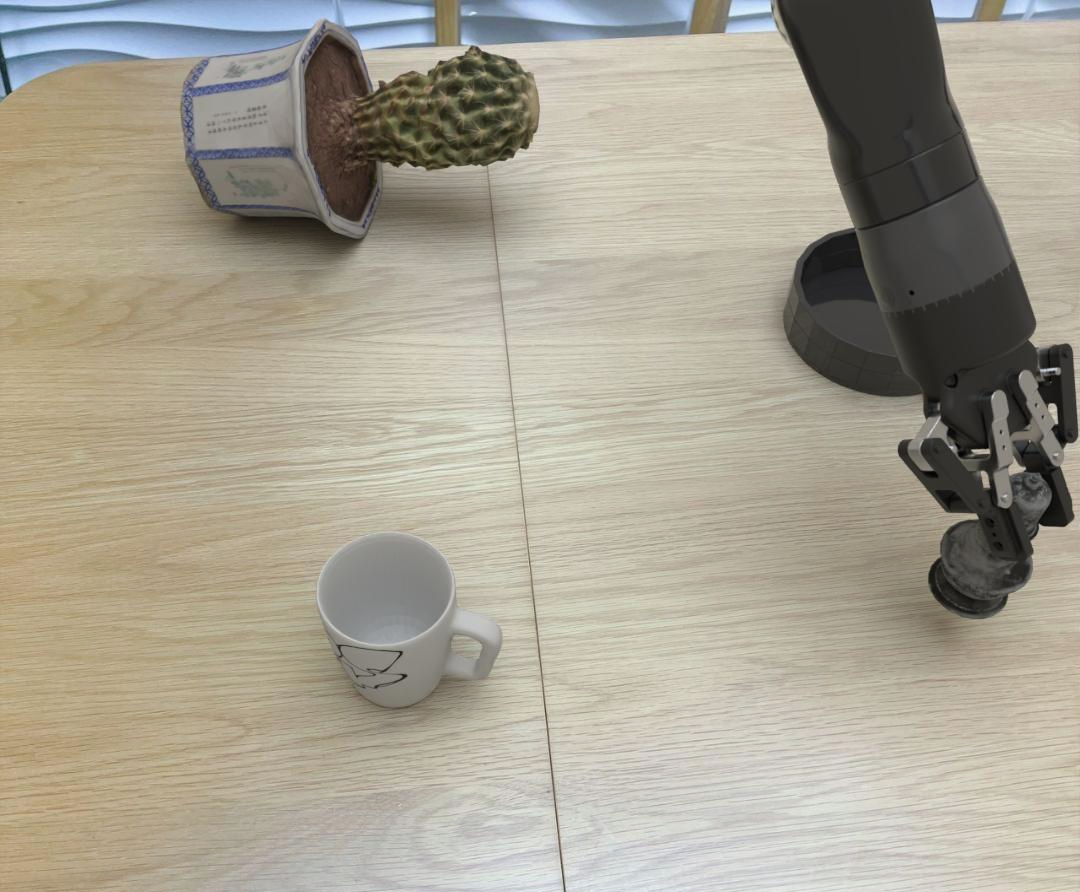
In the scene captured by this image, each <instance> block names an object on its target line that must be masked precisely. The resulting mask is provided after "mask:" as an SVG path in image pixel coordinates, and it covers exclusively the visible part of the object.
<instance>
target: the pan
mask: <svg viewBox="0 0 1080 892" xmlns="http://www.w3.org/2000/svg"><path fill="white" fill-rule="evenodd" d="M855 229H856V228H855V227H854V226H853V227H849V228H846V229H841V230H837V231H833V232H829V233H827V234H825V235H823V236H821V237H820V238H818V239H816V240H815V241H813V242H811V243H809V245H808V246H807V247H806V248H805V250H803V252H802V253H801V255H800V256H799V257H798V258H797V260H796V262H795V266H794V269H793V272H792V277H791V280H790V284H789V287H788V290H787V294H786V299H785V303H784V308H783V313H782V315H783V316H782V320H783V328H784V331H785V334H786V337H787V339H788V341H789V343H790V345H791V347H792V348H793V350H794V351H795V352H796V354H797V355H798V356H799V357H800V358H801V359H802V360H803V361H804V363H806V364H807V365H808V366H810V367H811V368H812V369H813V370H814V371H815V372H817V373H819V374H820V375H821V376H823V377H824V378H827V379H828V380H831V381H832V382H834V383H836V384H839V385H840V386H842V387H845V388H849V389H851V390H854V391H857V392H862V393H865V394H869V395H875V396H882V397H910V396H911V397H912V396H916V395H917V396H918V395H923V394H922V390H921V387H920V386H919V385H918V383H917V382H915V381H914V380H913V379H912V378H911V377H909V376H908V375H906V374H905V373H904V371H903V369H902V366H901V364H900V361H899V358H898V356H897V353H896V350H895V348H894V345H893V342H892V340H891V337H890V334H889V332H888V329H887V327H886V324H885V321H884V319H883V316H882V313H881V311H880V308H879V305H878V302H877V300H876V297H875V295H874V292H873V289H872V287H871V284H870V282H869V279H868V276H867V273H866V270H865V267H864V264H863V259H862V255H861V250H860V245H859V241H858V238H857V234H856V231H855Z"/></svg>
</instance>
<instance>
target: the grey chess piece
mask: <svg viewBox="0 0 1080 892" xmlns="http://www.w3.org/2000/svg"><path fill="white" fill-rule="evenodd" d="M1009 477H1010V483H1011V488H1012V494H1013V501H1012V502H1017V505H1018V508H1019V511H1020V513H1021V516H1022V519H1023V522H1024V525H1025V527H1026V530H1027V533H1028V536H1029V539H1030V541H1031V542H1032V541H1034V539H1035V538H1036V537H1037V536H1038V533H1039V531H1040V524H1039V522H1038V521H1039V519H1040V518H1041V516H1042V515H1043V513H1044V512H1045V510H1046V509H1047V507H1048V506H1049V504H1050V501H1051V498H1052V492H1051V489H1050V487H1049V485H1048V484H1047V482H1046V481H1045V480H1044V479H1043V478H1042V477H1041V475H1040V473H1028V472H1023V471H1021V472H1016V473H1012V474H1011V475H1009ZM985 537H986V536H985V535H984V532H983V529H982V527H981V524H980V521H979V519H978V518H975V519H974V518H972V519H971V518H969V519H965V520H961V521H958V522H955V523H954V524H952V525H951V526H949V528H947V530H946V531H945V532H944V533H943V535H942V538H941V540H940V542H939V554H940V557H938V558H936V560H935V561H934V562H933V563H932V564H931V566H930V568H929V570H928V573H927V583H928V587H929V591H930V592H931V594H932V596H933V597H934V599H935V600H936V601H937V603H939V605H941V606H942V607H943V608H944V609H945V610H947V611H948V612H950V613H952V614H954V615H956V616H958V617H961V618H965V619H968V620H969V619H970V620H985V619H988V618H992V617H994V616H996V615H998V614H999V613H1001V611H1002V610H1003V609H1004V608H1005V607H1006V605H1007V602H1008V600H1009V595H1010V594H1013V593H1016V592H1018V591H1019V590H1021V589H1022V588H1024V587H1025V586H1026V585H1027V583H1028V582H1030V580H1031V578H1032V574H1033V572H1034V559H1033V557H1032V556H1033V555H1032V556H1030V557H1029V558H1028V559H1027V560H1026V561H1024V562H1018V561H1004V560H1001V559H999V558H998V557H997V556H994V554H993V553H992V552H991V551H990V548H989V546H988V542H987V540H986V538H985Z"/></svg>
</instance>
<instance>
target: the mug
mask: <svg viewBox="0 0 1080 892" xmlns="http://www.w3.org/2000/svg"><path fill="white" fill-rule="evenodd" d="M456 583H457V582H456V577H455V574H454V571H453V568H452V566H451V564H450V561H449V560H448V559H447V557H446V556H445V554H444V553H442V552H441V550H440V549H438V548H437V547H436V546H435V545H434V544H432V543H431V542H429V541H427V540H426V539H423V538H422V537H419V536H416V535H414V534H411V533H407V532H400V531H378V532H373V533H369V534H365V535H362V536H358V537H357V538H354V539H353V540H350V541H349V542H347V543H345V544H343V545H342V546H341V547H339V548H338V549H337V550H336V551H335V552H334V553H333V554H332V555H331V556H330V557H329V559H328V560H327V561H326V562H325V564H324V566H323V567H322V569H321V571H320V573H319V575H318V579H317V582H316V585H315V587H316V588H315V603H316V608H317V612H318V615H319V618H320V621H321V623H322V626H323V629H324V632H325V634H326V636H327V639H328V642H329V644H330V647H331V649H332V651H333V653H334V656H335V658H336V659H337V661H338V663H339V665H340V666H341V668H342V669H343V671H344V672H345V674H346V675H347V677H348V679H349V680H350V682H351V683H352V685H353V686H354V687H355V689H356V691H358V692H359V694H360V695H361V696H362V697H364V699H366V700H367V701H369V702H371V703H373V704H375V705H377V706H380V707H386V708H404V707H409V706H412V705H414V704H417V703H419V702H421V701H423V700H424V699H425V698H428V696H430V695H431V693H432V692H434V690H435V689H436V688H437V686H438V685H439V683H440V681H441V679H442V677H443V676H444V675H448V676H451V677H455V678H458V679H463V680H468V681H482V680H485V679H486V678H488V677H489V675H490V674H491V673H492V670H493V667H494V664H495V662H496V660H497V658H498V657H499V654H500V652H501V649H502V645H503V631H502V628H501V626H500V625H499V624H498V623H497V622H496V621H495V620H494V619H492V618H490V617H488V616H486V615H484V614H481V613H478V612H474V611H471V610H467V609H463V608H460V607H459V606H458V603H457V584H456ZM454 636H461V637H467V638H470V639H473V640H474V641H476V642H478V643H479V644H480V645H481V647H482V648H481V650H480V654H479V656H478V658H469V657H465V656H462V655H461V654H458V653H456V652H455V651H454V649H453V647H452V642H453V638H454Z"/></svg>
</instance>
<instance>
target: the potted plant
mask: <svg viewBox="0 0 1080 892" xmlns="http://www.w3.org/2000/svg"><path fill="white" fill-rule="evenodd" d="M377 81H378V88H377V89H376V90H375V91H374V87H373V83H372V81H371V77H370V74H369V71H368V67H367V64H366V62H365V58H364V55H363V52H362V50H361V46H360V44H359V41H358V40H357V39H356V38H355V37H354V35H353V34H352V33H351V32H349V31H348V30H347V28H345V27H343V26H342V25H340V24H338V23H336V22H333V21H330V20H329V19H328V18H326V17H325V18H319V19H318V20H317V21H316V22H315V23H314V25H313V26H312V27H311V28H310V29H309V31H308V32H307V33H306V34H305V36H304V37H303V38H301V39H299V40H297V41H294V42H292V43H288V44H285V45H281V46H278V47H273V48H268V49H260V50H255V51H251V52H242V53H241V52H240V53H233V54H220V55H215V56H209V57H205V58H203V59H201V60H199V61H198V62H197V63H195V64H194V65H193V66H192V67H191V69H190V71H189V73H188V74H187V76H186V77H185V79H184V80H183V85H182V88H181V92H180V106H179V107H180V108H179V111H180V113H179V114H180V124H181V129H182V133H183V141H182V143H183V148H184V153H185V155H184V163H185V165H186V167H187V169H188V171H189V173H190V176H192V178H193V180H194V181H195V183H196V186H197V188H198V190H199V191H198V192H199V193H200V196H201V199H202V200H203V202H204V203H205V204H206V206H207V207H208V208H209V209H210V211H214V212H217V213H222V214H226V215H229V216H230V215H231V216H236V217H260V218H261V217H263V218H264V217H265V218H272V217H274V218H276V217H288V218H289V217H294V218H312V219H317V220H319V221H321V222H322V223H323V224H324V225H325V226H326V227H327V228H329V229H330V230H331V231H332V232H334V233H337V234H340V235H343V236H345V237H350V238H352V239H358V240H359V239H362V238H364V237H365V236H366V235H367V233H368V230H369V228H370V225H371V222H372V221H373V220H374V216H375V215H374V214H375V211H376V210H378V207H379V204H380V199H381V195H382V191H383V179H384V178H383V177H384V176H383V164H386V163H389V164H390V165H391V166H392V167H394V168H398V169H399V168H400V166H402V165H404V164H405V163H407V164H409V165H410V166H412V168H414V169H415V168H418V167H422V168H424V169H425V170H426V172H431V171H438V170H445V169H449V168H450V167H452V166H455V167H467V166H470V165H471V166H475V167H477V166H479V165H480V166H481V167H488V166H489V165H491V164H494V163H496V162H506V161H507V160H509V159H514V157H515V156H516V153H517V151H518V150H520V149H521V150H525V151H527V150H528V149H529V148H530V144H531V143H533V142H534V135H535V134H536V133H537V132H538V129H539V122H540V112H541V107H540V104H541V103H540V97H539V91H538V86H537V83H536V79H535V74H534V72H532V71H528V72H525V70H524V69H523V67H522V65H521V64H520V63H519V62H518V61H517V59H516V58H511V57H506V56H503V55H501V54H500V55H499V54H495V53H490V52H487V51H483V50H482V49H481V48H480V47H479V46H476V45H473V44H471V45H470V46H469V48H468V50H466V51H464V55H456V56H454V57H451V58H450V59H448V60H439V61H438V62H437V63H436V65H435V67H433V68H430V69H429V70H427V75H425V74H423V73H421V72H418V71H416V70H411V71H408V72H405V73H401V74H399V75H398V76H397V77H396V78H394V79H393V80H391V81H390V82H388V83H387V82H386V81H385V80H383V79H380V80H377Z"/></svg>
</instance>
